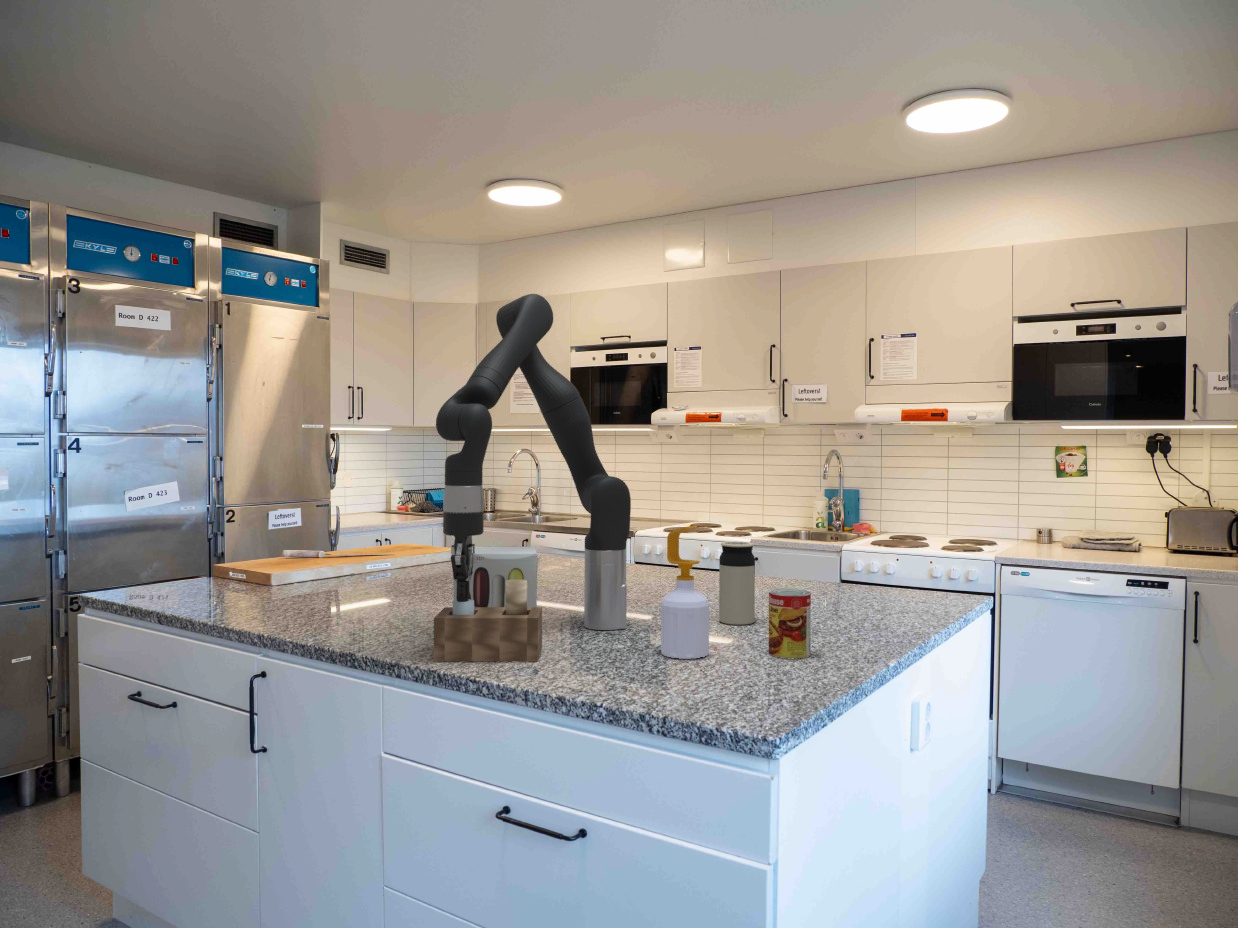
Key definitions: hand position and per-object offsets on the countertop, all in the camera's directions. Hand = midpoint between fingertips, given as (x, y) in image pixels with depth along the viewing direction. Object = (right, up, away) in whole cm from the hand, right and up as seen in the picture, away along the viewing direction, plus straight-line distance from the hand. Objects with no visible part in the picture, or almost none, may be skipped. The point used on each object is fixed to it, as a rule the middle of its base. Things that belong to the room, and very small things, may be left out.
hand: (462, 600), depth 159 cm
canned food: (+62, -11, +1) cm, 63 cm away
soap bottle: (+42, -11, +1) cm, 43 cm away
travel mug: (+56, -10, +32) cm, 66 cm away
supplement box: (+4, -10, +18) cm, 21 cm away
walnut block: (+5, -10, 0) cm, 11 cm away
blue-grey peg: (0, -8, 0) cm, 8 cm away
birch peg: (+10, -4, 0) cm, 11 cm away
